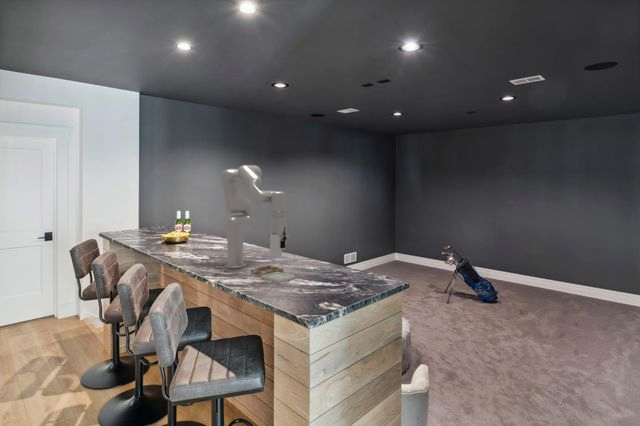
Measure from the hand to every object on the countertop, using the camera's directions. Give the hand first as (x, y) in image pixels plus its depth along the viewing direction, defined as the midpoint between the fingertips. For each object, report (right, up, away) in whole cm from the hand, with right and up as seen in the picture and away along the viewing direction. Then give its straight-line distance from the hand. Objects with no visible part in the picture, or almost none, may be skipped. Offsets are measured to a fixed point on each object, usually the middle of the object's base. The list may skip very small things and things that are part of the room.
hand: (278, 246), depth 202 cm
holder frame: (-8, -16, +14) cm, 23 cm away
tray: (0, -18, +2) cm, 18 cm away
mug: (0, -5, 0) cm, 5 cm away
